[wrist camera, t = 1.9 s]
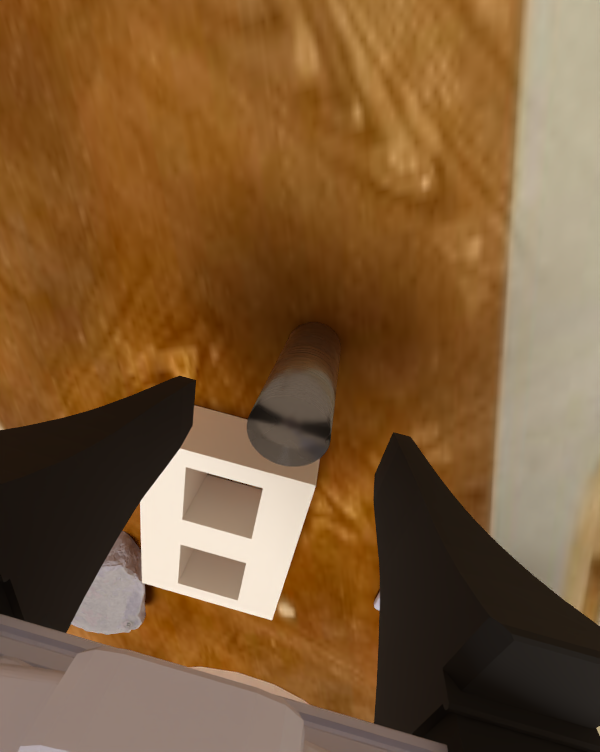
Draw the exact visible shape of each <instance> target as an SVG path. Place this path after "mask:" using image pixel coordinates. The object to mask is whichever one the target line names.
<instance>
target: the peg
mask: <svg viewBox="0 0 600 752" xmlns="http://www.w3.org/2000/svg"><path fill="white" fill-rule="evenodd" d="M340 352H341V345H340V341H339V338H338V336H337V334H336V333H335V332H334V331H333V330H332V329H331V328H330V327H328V326H327V325H324V324H322V323H318V322H308V323H304V324H302V325H300V326H298V327H297V328H295V329H294V330H293V332H292V333H291V334H290V336H289V338H288V340H287V342H286V344H285V346H284V348H283V350H282V352H281V354H280V356H279V358H278V360H277V362H276V364H275V366H274V368H273V370H272V372H271V374H270V376H269V378H268V380H267V382H266V384H265V386H264V387H263V389H262V391H261V393H260V395H259V397H258V399H257V401H256V403H255V405H254V407H253V409H252V411H251V413H250V415H249V417H248V421H247V434H248V438H249V440H250V442H251V444H252V446H253V447H254V448H255V449H256V451H257V452H258V453H259V454H261V455H262V456H263V457H264V458H266V459H268V460H269V461H271V462H274V463H276V464H279V465H283V466H290V467H298V466H304V465H308V464H311V463H313V462H315V461H317V460H318V459H319V458H321V457H322V456H323V455H324V453H325V452H326V451H327V449H328V447H329V444H330V439H331V430H332V422H333V413H334V404H335V395H336V387H337V378H338V369H339V361H340Z"/></svg>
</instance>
